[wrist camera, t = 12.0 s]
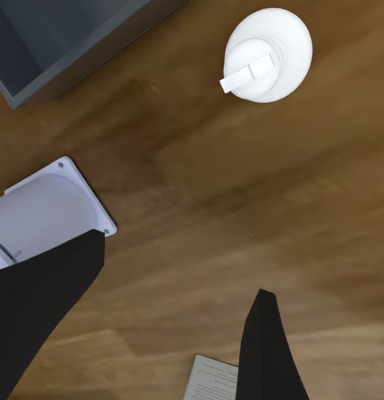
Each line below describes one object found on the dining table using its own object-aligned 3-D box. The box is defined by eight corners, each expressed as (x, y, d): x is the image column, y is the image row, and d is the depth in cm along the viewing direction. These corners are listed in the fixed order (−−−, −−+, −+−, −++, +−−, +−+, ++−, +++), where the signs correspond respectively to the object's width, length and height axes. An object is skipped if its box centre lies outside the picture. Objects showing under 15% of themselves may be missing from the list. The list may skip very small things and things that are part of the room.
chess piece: (211, 39, 17) (137, 39, 9) (293, -13, 15) (297, -77, 7) (245, 115, 19) (208, 175, 10) (324, 78, 17) (358, 117, 8)
